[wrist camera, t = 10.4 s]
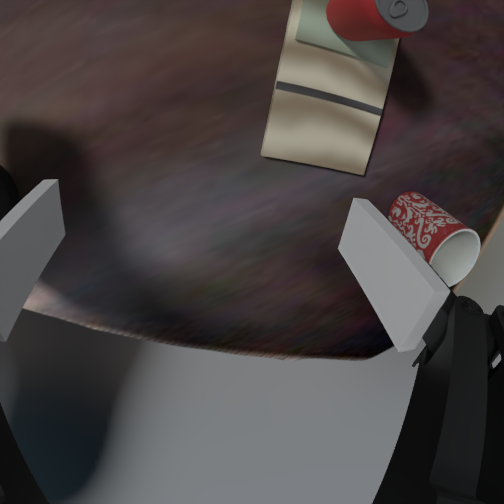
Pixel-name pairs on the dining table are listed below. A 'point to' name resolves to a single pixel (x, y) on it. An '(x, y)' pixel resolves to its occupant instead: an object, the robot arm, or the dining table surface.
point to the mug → (436, 236)
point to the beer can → (376, 18)
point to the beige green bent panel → (326, 93)
